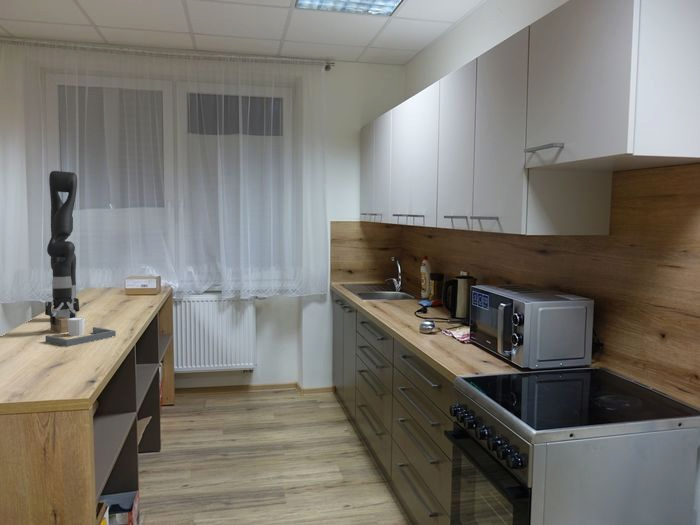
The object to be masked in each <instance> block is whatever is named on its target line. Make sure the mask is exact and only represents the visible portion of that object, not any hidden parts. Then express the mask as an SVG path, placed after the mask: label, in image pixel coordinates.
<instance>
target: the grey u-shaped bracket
mask: <svg viewBox="0 0 700 525" xmlns="http://www.w3.org/2000/svg"><path fill="white" fill-rule="evenodd" d="M116 331H117V330H114V329H109V328H102V327H96V326H93V327H92V334H89V335H84V336H83V335H82V336H77V337H73V338H69V339H66V338H62V337H58V336H53V335H45V337H44V338H45V343H49V344H53V345H58V346H62V347H71V346H77V345H82V344H84V343H85V344H86V343H90V341H91V342H95V341H94V340H96V341H100V340H99V339H101V340H104V339H103V338H106V339H109V338H108V337H111V338H113V337H112V336H116ZM96 333H97V334H96ZM116 337H117V336H116Z"/></svg>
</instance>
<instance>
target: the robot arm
mask: <svg viewBox="0 0 700 525" xmlns="http://www.w3.org/2000/svg"><path fill="white" fill-rule="evenodd" d="M48 184H49V196H50V198H49V199H50V234H51V235H50V236H51V237H50V240H49V242H48V244H47V246H46V247H47V249H46V252H47V255H49V257H50V267H51V270H52V281H51V284H52V285H51V286H52V288H51V289H52V294H51V295H52V301H50V300H47V301H45V302H44V303H45V306H44V307H45V308H44V315H45V316H48V317H49V322H50V323H51V324H52V325H56V317H64V318H78V317H77V315H78V314H77V313H78V312H80V300H79V298H77V278H76V276H77V275H76V273H77V272H76V271H77V269H76V268H77V256H76V253H75V250H76V246H75V244H74V243H73V242H72V241H69V240H67V239H68V238H69V237H70V236H71V234H72V233H73V231H74V217H73V213H74V208H75V203H76V197H77V189H78V177H77V174H76V173H75V172H71V171H63V170H62V171H61V170H51V171H50V173H49V178H48ZM59 193H68V194H67V198H66V199H65V201H64V202H63V200H62V199H61V197H60V194H59Z"/></svg>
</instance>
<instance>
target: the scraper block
mask: <svg viewBox="0 0 700 525" xmlns="http://www.w3.org/2000/svg"><path fill="white" fill-rule="evenodd" d="M67 319H69V318H64V317H56V325H52V324H51V323H50V332H52V331H53V332H54V333H57V332H58V334H64V333H65V334H66V333H69V330H68V322H67ZM53 332H52V333H53Z"/></svg>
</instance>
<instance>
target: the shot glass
mask: <svg viewBox="0 0 700 525" xmlns="http://www.w3.org/2000/svg"><path fill="white" fill-rule="evenodd" d="M67 322H68V330H69V332H68V335H70V337H80V336H83V335H85V325H86V324H85V323H86V318H85V317H77V318H69V319H67ZM79 335H80V336H79Z"/></svg>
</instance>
